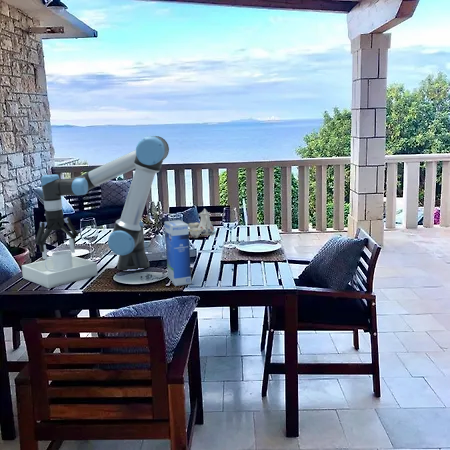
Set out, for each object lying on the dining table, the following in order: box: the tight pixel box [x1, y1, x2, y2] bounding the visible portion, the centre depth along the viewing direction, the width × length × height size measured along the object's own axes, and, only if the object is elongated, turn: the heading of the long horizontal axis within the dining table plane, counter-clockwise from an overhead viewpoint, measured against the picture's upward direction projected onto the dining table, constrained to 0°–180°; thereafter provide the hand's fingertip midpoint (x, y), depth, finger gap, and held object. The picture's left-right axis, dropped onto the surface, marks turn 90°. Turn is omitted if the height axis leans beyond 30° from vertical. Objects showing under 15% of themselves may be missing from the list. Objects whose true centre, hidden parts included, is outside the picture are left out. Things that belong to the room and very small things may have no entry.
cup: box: [44, 250, 73, 272], centre depth 225 cm, size 8×12×10 cm
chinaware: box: [187, 208, 215, 239], centre depth 307 cm, size 28×17×17 cm, turn 11°
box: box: [21, 255, 98, 289], centre depth 226 cm, size 24×24×6 cm
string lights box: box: [164, 219, 192, 287], centre depth 211 cm, size 13×8×26 cm, turn 21°
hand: (59, 255), depth 224 cm, fingers open, 13 cm apart
